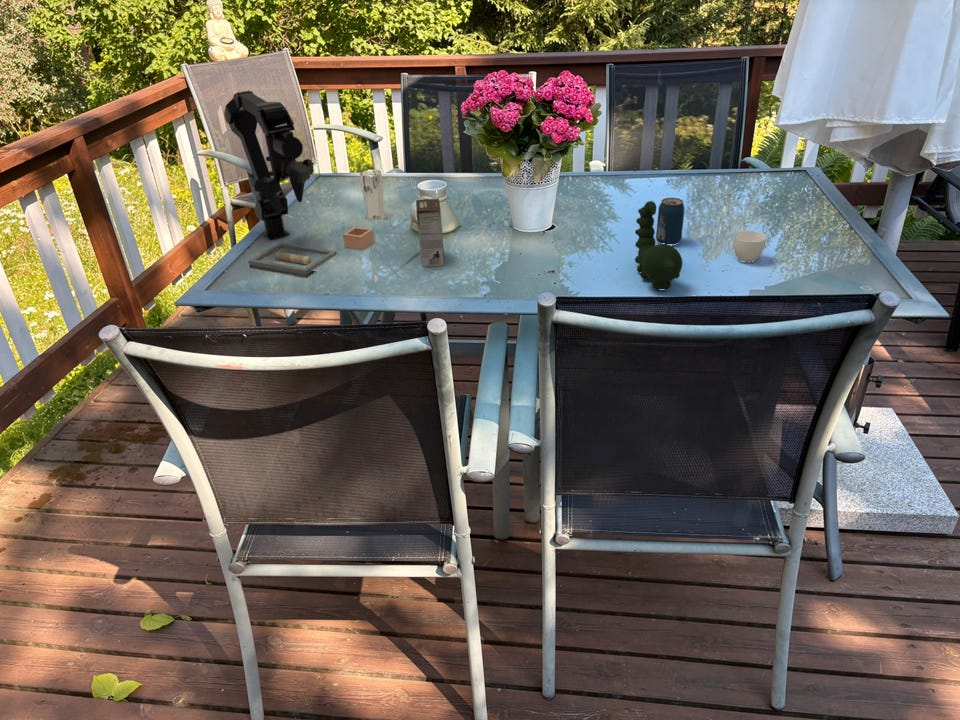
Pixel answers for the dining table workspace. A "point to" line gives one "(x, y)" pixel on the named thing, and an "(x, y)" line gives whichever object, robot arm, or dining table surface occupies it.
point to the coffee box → (430, 232)
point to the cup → (749, 245)
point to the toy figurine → (655, 252)
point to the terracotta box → (358, 238)
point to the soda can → (670, 221)
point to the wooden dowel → (292, 258)
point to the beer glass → (373, 193)
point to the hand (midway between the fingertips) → (289, 207)
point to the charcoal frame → (287, 269)
